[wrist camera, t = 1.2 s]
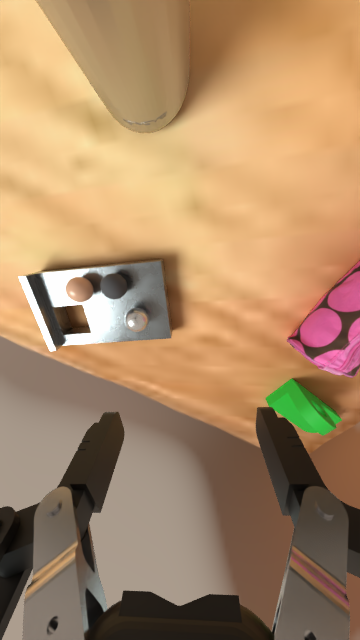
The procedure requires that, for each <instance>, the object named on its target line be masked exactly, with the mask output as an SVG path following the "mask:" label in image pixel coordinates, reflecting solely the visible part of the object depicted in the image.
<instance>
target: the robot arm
mask: <svg viewBox="0 0 360 640" xmlns="http://www.w3.org/2000/svg"><path fill="white" fill-rule="evenodd" d="M36 2H37V3H38V5H39V6H40V8H41V9H42V11H43V12H44V14H45V15H46V17H47V18H48V20H49V21H50V23H51V24H52V26H53V27H54V29H55V31H56V32H57V34H58V35H59V37H60V38H61V40H62V41H63V43H64V44H65V46H66V47H67V49H68V50H69V52H70V53H71V55H72V56H73V58H74V59H75V61H76V62H77V64H78V65H79V67H80V68H81V70H82V71H83V73H84V74H85V76H86V77H87V79H88V80H89V82H90V84H91V85H92V87H93V88H94V90H95V91H96V93H97V94H98V96H99V97H100V99H101V100H102V102H103V103H104V105H105V106H106V108H107V109H108V111H109V112H110V113H111V114H112V116H113V117H114V118H115V119H116V120H117V121H118V122H119V123H120V124H121V125H122V126H124V127H126V128H128V129H129V130H131V131H135V132H139V133H151V132H154V131H158V130H160V129H161V128H163V127H165V126H166V125H167V124H168V123H169V122H170V121H171V120H172V119H173V118H174V117H175V116H176V114H177V113H178V111H179V110H180V108H181V106H182V104H183V101H184V99H185V96H186V92H187V88H188V84H189V73H190V0H36ZM256 433H257V438H258V441H259V444H260V447H261V450H262V453H263V456H264V459H265V462H266V465H267V468H268V471H269V475H270V478H271V481H272V484H273V487H274V490H275V493H276V496H277V499H278V502H279V505H280V508H281V511H282V514H283V515H290V516H291V518H292V521H293V524H294V532H293V536H292V541H291V546H290V550H289V555H288V560H287V564H286V569H285V574H284V578H283V583H282V587H281V591H280V596H279V600H278V604H277V609H276V613H275V618H274V623H273V627H272V632H271V631H270V629H269V628H268V627H267V626H266V625H265V623H264V622H263V621H262V620H261V619H260V618H258V616H256V615H255V614H254V613H253V612H252V611H250V610H249V609H247V608H246V607H244V606H242V605H240V603H239V596H237V595H213V594H212V595H211V594H209V595H206V596H204V597H201V598H199V599H197V600H194V601H192V602H190V603H187V604H185V605H182V606H177V605H175V604H173V603H171V602H169V601H167V600H165V599H163V598H161V597H159V596H158V595H156V594H154V593H152V592H143V591H123V596H122V600H121V601H119V602H117V603H116V604H114V605H112V606H111V607H110V608H109V609H107V604H106V599H105V595H104V590H103V587H102V584H101V581H100V578H99V574H98V569H97V564H96V559H95V552H94V548H93V541H92V536H91V531H90V525H89V521H90V518H91V515H92V513H93V512H94V513H100V512H101V509H102V506H103V503H104V500H105V497H106V494H107V491H108V487H109V484H110V481H111V478H112V475H113V472H114V469H115V465H116V462H117V459H118V456H119V453H120V450H121V447H122V444H123V440H124V428H123V425H122V421H121V418H120V415H119V413H118V412H105V413H104V414H103V415H102V417H101V419H100V421H99V423H94V424H93V425H92V426H91V427H90V428H89V429H88V431H87V432H86V434H85V436H84V438H83V440H82V443H81V444H80V445H79V447H78V451H76V453H75V455H74V457H73V459H72V461H71V463H70V465H69V467H68V469H67V471H66V473H65V474H64V476H63V479H62V481H61V482H60V484H59V486H58V487H57V488H56V489H54V490H52V491H51V492H50V493H48V494H47V495H46V496H45V497H44V498H43V500H42V501H41V502H40V503H38V504H36V505H33V506H30V507H28V508H25V509H22V510H20V511H17V512H15V510H14V509H13V508H12V507H8V506H7V507H2V508H0V640H2V637H3V635H4V632H5V630H6V628H7V626H8V624H9V621H10V619H11V617H12V614H13V612H14V610H15V608H16V605H17V603H18V601H19V599H20V596H21V594H22V591H23V589H24V587H25V585H26V582H27V580H28V578H29V576H30V573H31V571H32V569H33V579H32V582H31V584H30V585H29V586H28V587H27V590H26V593H25V599H24V619H23V640H349V626H350V609H349V601H348V598H347V596H346V573H347V572H349V573H351V574H353V575H355V576H357V577H359V578H360V509H357V508H354V507H351V506H349V505H347V504H345V503H343V502H342V501H340V500H339V499H338V498H337V497H336V496H334V495H333V494H332V493H331V492H330V491H329V490H328V489H327V487H326V486H325V484H324V483H323V481H322V479H321V477H320V475H319V473H318V472H317V470H316V468H315V466H314V464H313V462H312V461H311V458H310V457H309V455H308V453H307V451H306V449H305V448H304V445H303V443H302V441H301V439H299V436H298V434H297V432H296V430H295V428H294V426H293V425H292V424H291V423H290V422H289V421H288V420H287V419H286V418H285V417H284V418H278V417H277V415H276V413H275V411H274V409H273V408H272V407H258V408H257V417H256Z"/></svg>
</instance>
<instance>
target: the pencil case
mask: <svg viewBox="0 0 360 640" xmlns="http://www.w3.org/2000/svg"><path fill="white" fill-rule="evenodd" d="M287 342H289V343H290V344H291V345H292V346H293V347H294V348H295V349H296V350H297V351H299V352H300V353H301V354H302V355H303V356H304V357H305V358H306V359H308V360H309V361H310V362H312V363H313V364H315V365H317V366H318V368H319V369H322V370H325V371H328V372H330V373H332V374H335V375H345V376H347V377H351V378H352V377H354V376H356V375H357V373H358V370H359V368H360V261H359V262H358V263H357V264H356V265H355V266H354V267H353V268H352V269H351V270H350V271H349V272H348V273H347V274H346V275H344V276H343V277H342V279H340V280H339V281H338V282H337V283H336V284H335V286H334V287H333V288H332V289H331V290H330V291H329V292H328V293H326V294H325V295H324V296H323V297H322V298H321V299H320V301H319V302H318V303H317V304H316V306H315V307H314V308H313V309H312V311H311V312H310V313H309V314H308V316H307V317H306V318H305V320H304V321H303V323H302V324H301V325H300V327H299V328H298V329H297V330H296V331H295V333H294V334H292V335H291V336H289V337H288V339H287Z"/></svg>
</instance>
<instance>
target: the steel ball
mask: <svg viewBox="0 0 360 640" xmlns="http://www.w3.org/2000/svg"><path fill="white" fill-rule="evenodd" d="M124 321H125V325H126V326H127V328H128V329H130V330H131V331H135V332H138V331H142V330H144V329H145V328H146V327H147V325H148V323H149V317H148V314H147V313H146V311H145V310H143V309H141V308H132V309H130V310H129V311H128V312H127V313H126V315H125V318H124Z"/></svg>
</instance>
